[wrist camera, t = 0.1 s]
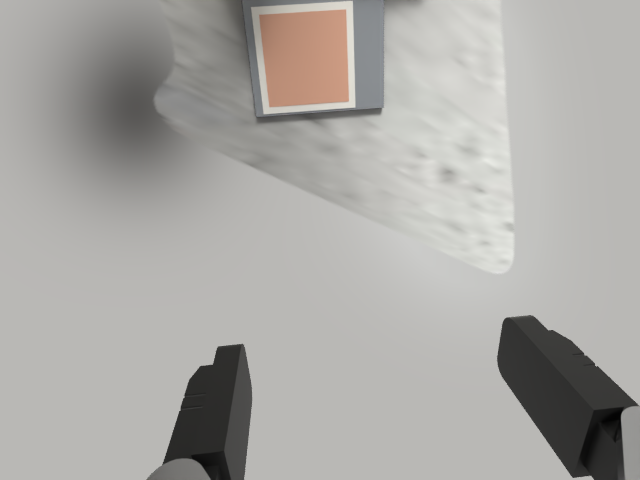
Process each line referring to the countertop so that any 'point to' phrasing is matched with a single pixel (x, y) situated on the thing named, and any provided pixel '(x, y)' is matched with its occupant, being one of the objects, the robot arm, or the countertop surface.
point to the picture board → (315, 55)
